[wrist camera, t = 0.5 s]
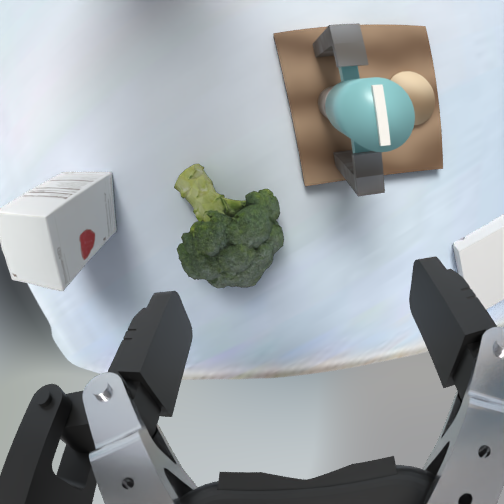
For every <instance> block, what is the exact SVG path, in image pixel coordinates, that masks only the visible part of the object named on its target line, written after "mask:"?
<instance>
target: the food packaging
mask: <svg viewBox="0 0 504 504" xmlns="http://www.w3.org/2000/svg"><path fill="white" fill-rule="evenodd" d="M453 249H454V254H455V259H456V265H457V270H458V274H459V275H461V276H462V277H463V278H464V279H465V281H466V282H467V283H468V285H469V286H470V289H472V290H473V292H474V293H475V295H476V297H478V299H479V300H480V302H481V303H482V305H483V306H484V307H485V309H488V308H490V307H491V306H493V305H495V304H497V303H498V302H500V301H502V300H503V299H504V214H502V215H501V216H500V217H498V218H496V219H494V220H492V221H491V222H489V224H487V225H484V226H482V227H481V228H479V229H477V230H475V231H474V232H472V233H470V234H468V235H467V236H465V238H464V240H458V241H456V242H454V245H453Z"/></svg>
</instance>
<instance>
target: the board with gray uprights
mask: <svg viewBox="0 0 504 504" xmlns="http://www.w3.org/2000/svg"><path fill="white" fill-rule="evenodd" d="M274 40H275V44H276V48H277V52H278V56H279V60H280V65H281V69H282V73H283V78H284V82H285V87H286V91H287V96H288V101H289V105H290V110H291V115H292V120H293V125H294V130H295V135H296V140H297V146H298V151H299V156H300V162H301V168H302V173H303V179H304V184H305V186H311V185H317V184H323V183H330V182H337V181H344V180H346V181H347V182H348V183H349V185H350V186H351V187H352V189H353V190H354V191H355V193H356V194H357V196H364V195H371V194H378V193H385V189H384V175H388V174H397V173H405V172H414V171H423V170H433V169H443V154H442V134H441V121H440V110H439V101H438V93H437V85H436V78H435V72H434V66H433V60H432V55H431V50H430V45H429V40H428V35H427V31H426V27H425V26H411V25H360V24H339V25H329V26H328V27H319V28H310V29H301V30H293V31H286V32H280V33H274ZM348 66H358V71H359V76H360V79H362V78H373V77H380V78H385V79H389V80H391V81H393V82H395V83H397V84H398V85H399V86H401V87H402V88H403V89H404V90H405V91H406V93H407V94H408V96H409V97H410V99H411V101H412V104H413V107H414V112H415V123H414V127H413V130H412V133H411V135H410V136H409V138H408V139H407V141H406V142H405V143H404V144H402V145H401V146H400V147H398V148H396V149H394V150H392V151H388V152H375V151H368V152H359V153H353V151H352V143H351V139H350V138H349V137H347V136H346V135H344V134H343V133H341V132H340V131H338V130H337V129H336V128H335V127H334V126H333V125H332V124H331V123H330V121H329V119H328V117H327V114H326V110H325V102H326V98H327V95H328V93H329V92H330V90H331V89H332V88H333V87H334V86H335V85H336V84H338V83H340V82H341V78H340V73H339V68H338V67H348Z"/></svg>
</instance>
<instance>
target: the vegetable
mask: <svg viewBox="0 0 504 504" xmlns="http://www.w3.org/2000/svg"><path fill="white" fill-rule="evenodd" d="M203 169H204V167H203V166H201V165H200V164H194V165H192V166H190V167H189V168H187V169H186V170H185V171H183V172H182V173H181V174H180V175H179V177H178V179H177V181H176V183H175V186H174V188H175V189H176V190H178V191H179V192H180V193H181V197H182V198H186V200H187V201H188V202H189V203H190V204H191V205H192V207H193V208H194V211H193V212H194V214H195V215H196V218H197V220H198V222H195V223H194V224H193V225H192V226H191V228H190V232H189V233H183V235H182V237H181V238H182V240H183V243H181V244H179V246H178V248H177V251H178V254H179V260H180V261H181V262H182V263H181V264H182V267H183V269H184V271H185V272H186V273H187V275H188V276H189V277H191V278H193V279H198V280H199V279H205V280H207V281H208V282H209V283H210V284H211V285H212V286H214V287H216V288H225V287H226V286H231V287H235V286H237V287H250V286H254V285H255V284H256V283H257V282H258V280H259V279H260V278H261V276H262V275H263V273H264V271H265V270H266V269H267V268H269V266H270V265H271V264H272V261H273V256H274V254H275V253H276V252H277V251H278V250H279V249H280V248H281V247H282V246H283V241H284V236H283V232H282V227H280V226H279V225H278V222H277V220H276V219H277V218H278V217H279V214H280V208H279V202H278V200H277V198H276V197H275V196H273V193H272V192H271V191H270V190H269V189H263V190H259V192H256V191H253V192H251V193H248V194H247V195H246V201H237V200H231V199H227V198H224V195H220V194H218V193H216V191H215V189H214V187H213V183H212V181H211V180H210V179H209V177H208V176H207V175H206V173H205V172H204V171H203ZM202 221H204V222H202Z"/></svg>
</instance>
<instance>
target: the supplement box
mask: <svg viewBox="0 0 504 504" xmlns="http://www.w3.org/2000/svg"><path fill="white" fill-rule="evenodd" d="M116 231H117V229H116V218H115V207H114V195H113V180H112V173H111V172H62V173H60V174H58V175H56V176H55V177H53V178H51V179H49V180H47V181H45V182H44V183H42V184H40V185H38V186H36V187H35V188H33V189H31V190H29V191H28V192H26V193H24V194H23V195H21V196H19V197H18V198H16V199H14V200H13V201H11V202H9V203H8V204H6V205H5V206H3V207H1V208H0V241H1V247H2V250H3V253H4V255H5V258H6V261H7V265H8V268H9V271H10V274H11V277H12V280H16V281H21V282H26V283H29V284H33V285H37V286H41V287H45V288H49V289H53V290H59V291H64V290H65V288H66V287H67V286H68V285H69V284H70V282H71V281H72V280H73V279H74V278H75V276H76V275H77V274H78V273H79V272H80V271H81V269H82V268H83V267H84V266H85V265H86V264H87V263H88V261H89V260H90V259H91V258H92V257H93V256H94V255H95V254H96V253H97V252H98V250H99V249H100V248H101V247H102V246H103V245H104V244H105V243H106V242H107V241H108V240H109V239H110V237H111V236H112V235H113V234H114V233H115V232H116Z"/></svg>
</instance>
